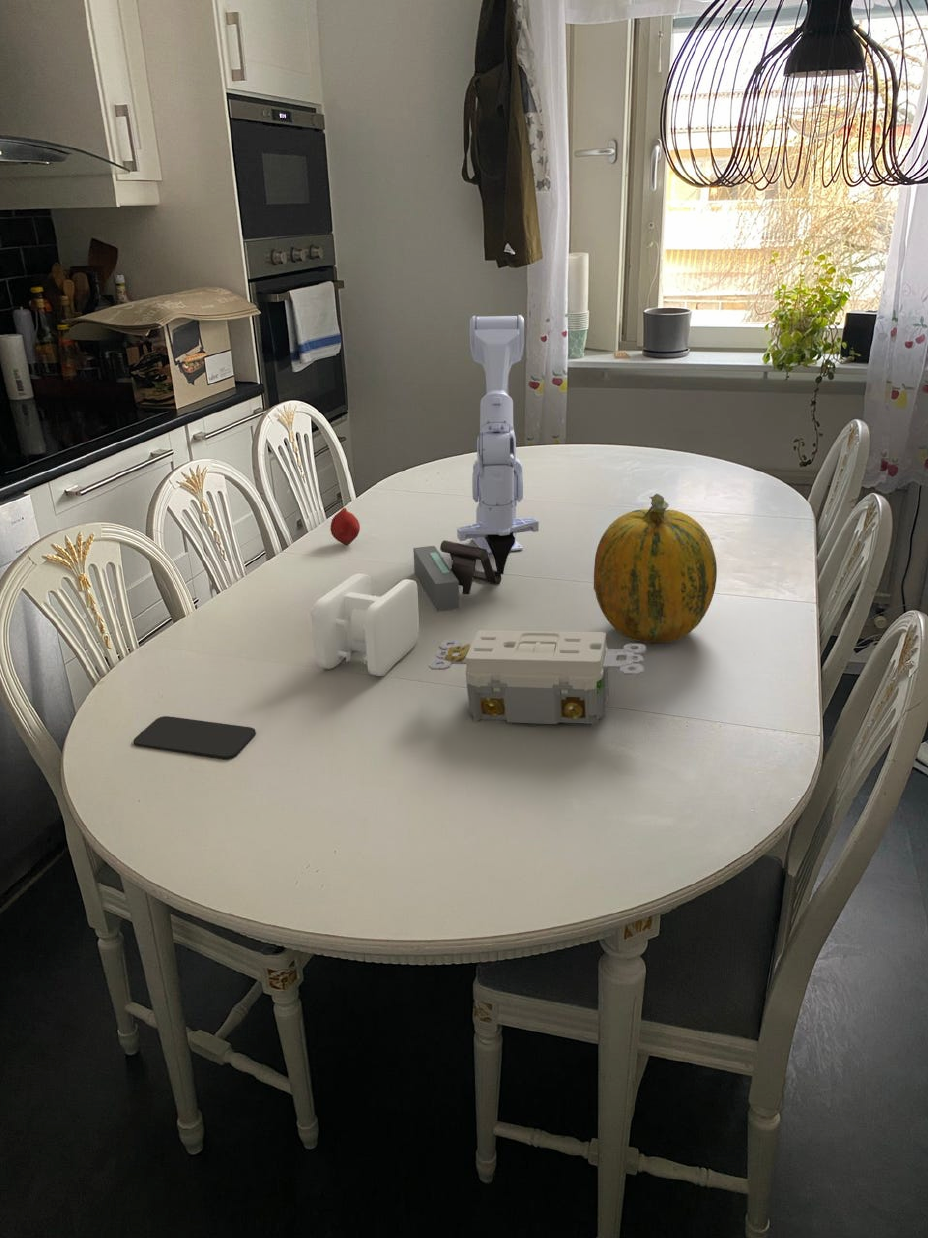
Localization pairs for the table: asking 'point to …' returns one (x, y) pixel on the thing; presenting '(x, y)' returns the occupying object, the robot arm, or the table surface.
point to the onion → (345, 527)
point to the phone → (195, 737)
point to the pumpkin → (655, 573)
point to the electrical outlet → (538, 674)
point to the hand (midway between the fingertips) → (498, 572)
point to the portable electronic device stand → (469, 564)
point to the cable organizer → (365, 624)
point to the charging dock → (436, 578)
